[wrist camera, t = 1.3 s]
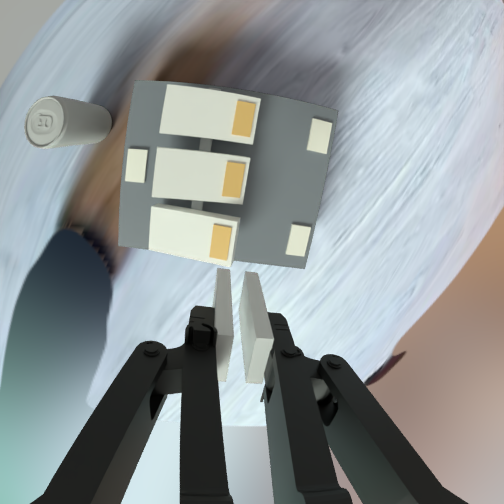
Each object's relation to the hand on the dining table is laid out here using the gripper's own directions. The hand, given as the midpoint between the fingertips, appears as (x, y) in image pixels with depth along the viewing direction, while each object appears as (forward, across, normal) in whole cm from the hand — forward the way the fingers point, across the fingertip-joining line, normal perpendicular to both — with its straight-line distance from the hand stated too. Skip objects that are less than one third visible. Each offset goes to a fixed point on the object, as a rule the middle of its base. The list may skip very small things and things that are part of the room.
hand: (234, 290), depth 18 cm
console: (+18, -2, +5) cm, 19 cm away
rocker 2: (+10, -4, +5) cm, 12 cm away
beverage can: (+19, -18, +9) cm, 27 cm away
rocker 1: (+10, -4, +11) cm, 15 cm away
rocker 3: (+10, -4, 0) cm, 11 cm away
